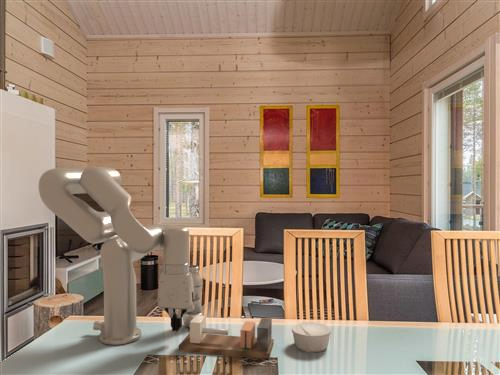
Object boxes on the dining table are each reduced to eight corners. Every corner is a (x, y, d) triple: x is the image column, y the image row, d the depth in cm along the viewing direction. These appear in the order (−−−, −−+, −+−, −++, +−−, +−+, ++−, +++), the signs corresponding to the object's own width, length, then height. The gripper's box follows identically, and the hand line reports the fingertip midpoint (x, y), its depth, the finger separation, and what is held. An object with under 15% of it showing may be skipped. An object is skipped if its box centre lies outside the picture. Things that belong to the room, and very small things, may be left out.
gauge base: (178, 350, 118) (178, 323, 118) (189, 337, 128) (189, 311, 128) (268, 358, 114) (269, 330, 113) (273, 344, 123) (273, 317, 123)
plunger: (189, 342, 120) (189, 322, 120) (196, 334, 126) (196, 315, 125) (225, 345, 118) (225, 324, 118) (230, 337, 124) (230, 317, 124)
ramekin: (284, 346, 122) (284, 328, 122) (306, 335, 130) (306, 319, 130) (316, 358, 115) (316, 339, 114) (337, 346, 123) (337, 328, 123)
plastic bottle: (199, 330, 134) (199, 269, 133) (179, 329, 135) (179, 268, 134) (205, 323, 140) (205, 264, 139) (186, 322, 141) (186, 263, 141)
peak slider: (239, 349, 115) (239, 331, 115) (245, 337, 123) (245, 321, 123) (250, 350, 115) (250, 332, 114) (255, 338, 123) (255, 322, 123)
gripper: (147, 270, 121) (147, 332, 121) (196, 272, 118) (196, 336, 119) (157, 264, 128) (157, 323, 129) (204, 266, 125) (204, 327, 126)
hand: (176, 329), depth 124 cm, fingers closed
